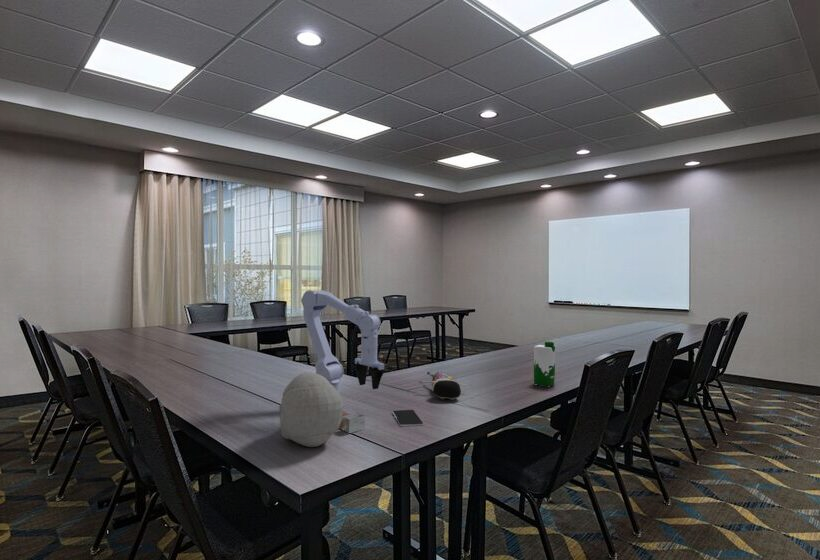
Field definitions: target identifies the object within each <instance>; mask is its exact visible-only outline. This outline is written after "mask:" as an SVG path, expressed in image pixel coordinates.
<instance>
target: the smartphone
mask: <svg viewBox="0 0 820 560" xmlns="http://www.w3.org/2000/svg"><path fill="white" fill-rule="evenodd" d="M391 414H392V416H393V415H394V416H393V418H396V419H395V420H396V422H397V421H398V422H397V423H399V424H398V425H399V427H401V426H405V427H417V426H416V425H421V426H423V425H424V422H423V421H422V419H421V418H420V417H419V416H418V414H417V413H416V411H415V410H414V409H401V410H392V412H391Z"/></svg>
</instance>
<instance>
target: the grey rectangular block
mask: <svg viewBox="0 0 820 560" xmlns="http://www.w3.org/2000/svg"><path fill="white" fill-rule="evenodd" d="M349 414H350V413H349ZM365 425H366V416H365V415H364V414H362V413H359V412H354V413H351V414H350V415H346V416H342V428H341V431H342V430H343V432H344V431H345V433H346V432H347V433H346V434H349V433H350V434H352V433H353V432H354V433H357V432H360V430H361V431H364V430H366V429H365ZM356 431H357V432H356Z"/></svg>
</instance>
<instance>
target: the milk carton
mask: <svg viewBox="0 0 820 560" xmlns="http://www.w3.org/2000/svg"><path fill="white" fill-rule="evenodd" d="M556 348H557V346H556V345H555V343H554V342H553V341H545V342H544V344H537V345H535V346H533V384H537V385H543V386H542V387H544V386H551V385H552V386H554V385H555V378H556V377H555V376H556V375H555V374H556V350H557V349H556ZM553 384H554V385H553ZM537 385H536V386H537ZM552 386H551V387H552Z"/></svg>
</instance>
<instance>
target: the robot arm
mask: <svg viewBox="0 0 820 560" xmlns="http://www.w3.org/2000/svg"><path fill="white" fill-rule="evenodd" d="M300 301H301V305H302V309H303V311H302V312H303V319H304V322H305V325H306V328H307V331H308V334H309V338H310V340H311V343H312V345H313V346H312V347H313V348H314V353H315V355H316V358H317V360H316V363H315V365H314V367H315V373H317V374H319V375H321V376H323V377H325V378H326V379H327V380H328V381H329V383H330V384H331V385H332V386H333V387H334V388H335V389H336V390H337V392H338V393H339V394H340V382H341V378H342V377H343V375H344V367H343V365H342V364H341V363H340V361H339V359H338V358H337V357H336V356H335V355H333V353H332V351H331V348H330V344H329V341H328V339H327V336H326V333H325V330H324V327H323V325H322V324H323V323H322V321H321V319H320V316H321V313H322V312H323V311H324V309H326V308H327V306H329V307H331V308H333V309H334V310H336V311H338V312H341V313H342V314H344V318H345V319H346V320H347V321H350V322H352V323H353V324H355V325H357V327H358V329H359V330H360V336H361V339H360V340H361V346H360V347H361V348H360V352H361V355H360V356H361V357H356V358H354V364H356V365H353V369H354V371H355V373H356V375H357V379H358V384H359V386H365V385H366V381H367V373H368V372H369V373H370V377H371V378H370V379H371V386H372V390H379V387H380V383H381V380H382V377H383V375H384V373H385V372H386V369H385V363H383V362H380V361H379V360H378V336H379V335H378V334H379V333H378V332H379V328H380V327H381V323H382V322H381V319H380V317H379V316H378V315H377V314H375V313H372V314H370V311H368V310H366V311H365V310H364V309H362V308H360V305H358V304H351V305H349V304H347V303H346V302H344V301H342V300H341V299H339V298H338V297H336V296H335V295H333V293H332V292H330V291H328V290H325V289H321V290H320V289H319V290H305V292H304V293H303V294H302V297H301V299H300ZM369 367H370V368H371V369H370V368H369ZM368 368H369V369H368ZM368 370H369V371H368ZM344 406H345V404H343V407H344Z"/></svg>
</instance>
